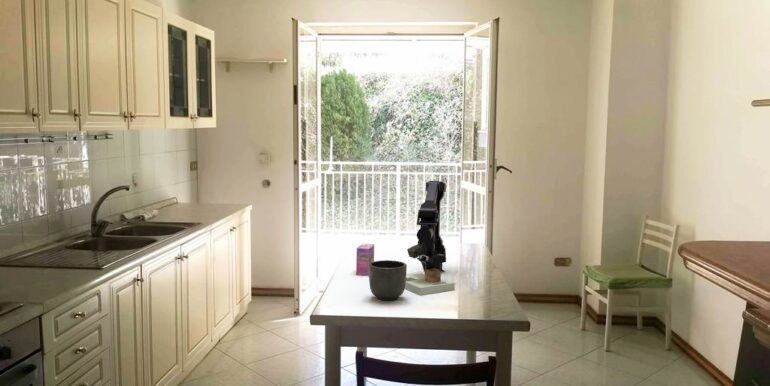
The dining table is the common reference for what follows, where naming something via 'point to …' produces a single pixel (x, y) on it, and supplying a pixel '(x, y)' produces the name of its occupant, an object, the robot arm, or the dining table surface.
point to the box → (364, 258)
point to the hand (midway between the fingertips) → (426, 276)
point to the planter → (387, 279)
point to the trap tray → (425, 284)
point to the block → (432, 275)
